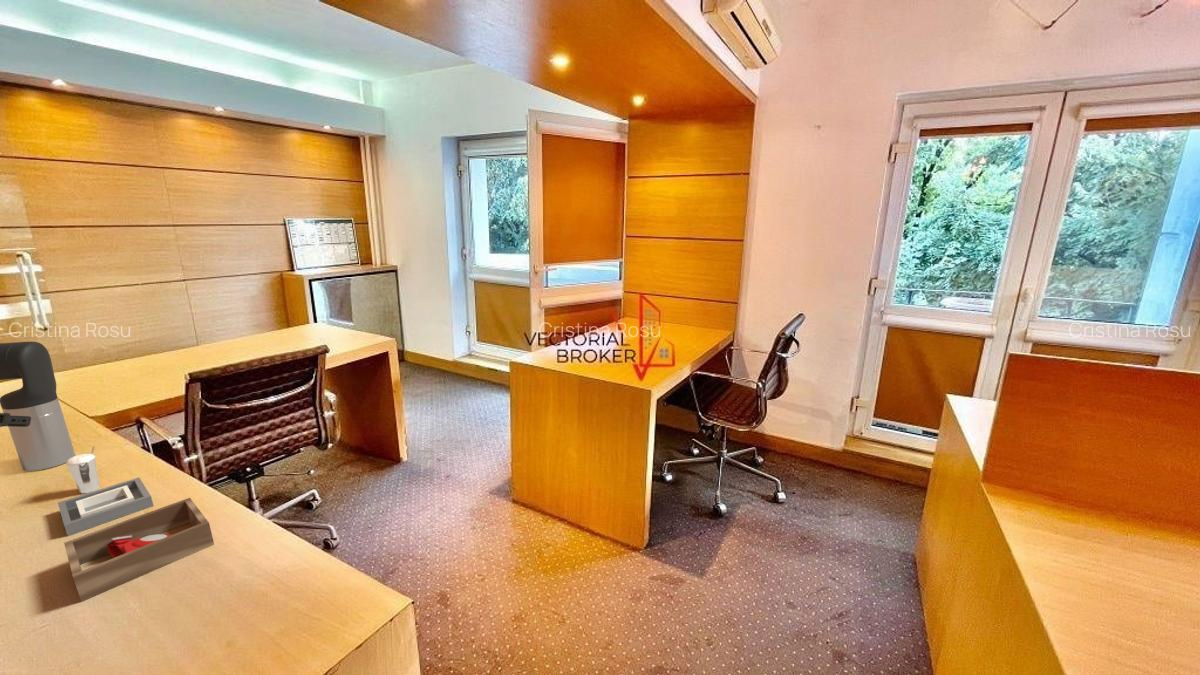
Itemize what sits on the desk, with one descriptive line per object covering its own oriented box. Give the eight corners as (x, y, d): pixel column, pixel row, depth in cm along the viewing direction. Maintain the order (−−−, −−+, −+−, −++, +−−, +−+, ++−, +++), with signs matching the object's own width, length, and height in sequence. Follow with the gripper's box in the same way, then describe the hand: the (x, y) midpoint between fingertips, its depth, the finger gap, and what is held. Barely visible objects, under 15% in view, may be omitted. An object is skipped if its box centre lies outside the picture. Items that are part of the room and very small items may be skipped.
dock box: (60, 512, 101) (57, 502, 101) (141, 486, 111) (139, 477, 111) (67, 536, 94) (64, 525, 93) (153, 505, 104) (150, 496, 103)
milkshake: (112, 483, 113) (102, 446, 110) (87, 495, 107) (75, 457, 105) (96, 482, 113) (85, 445, 110) (70, 494, 108) (57, 456, 105)
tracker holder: (189, 527, 95) (168, 545, 86) (185, 549, 94) (164, 570, 85) (110, 530, 89) (79, 550, 80) (106, 553, 89) (75, 576, 80)
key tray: (71, 565, 86) (63, 542, 84) (194, 517, 100) (189, 497, 98) (81, 601, 78) (73, 577, 76) (214, 544, 91) (209, 522, 90)
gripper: (-75, 395, 83) (43, 403, 99) (-135, 402, 85) (-9, 409, 101) (-86, 437, 81) (36, 438, 97) (-147, 443, 83) (-18, 443, 99)
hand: (13, 423), depth 99 cm, fingers open, 8 cm apart
